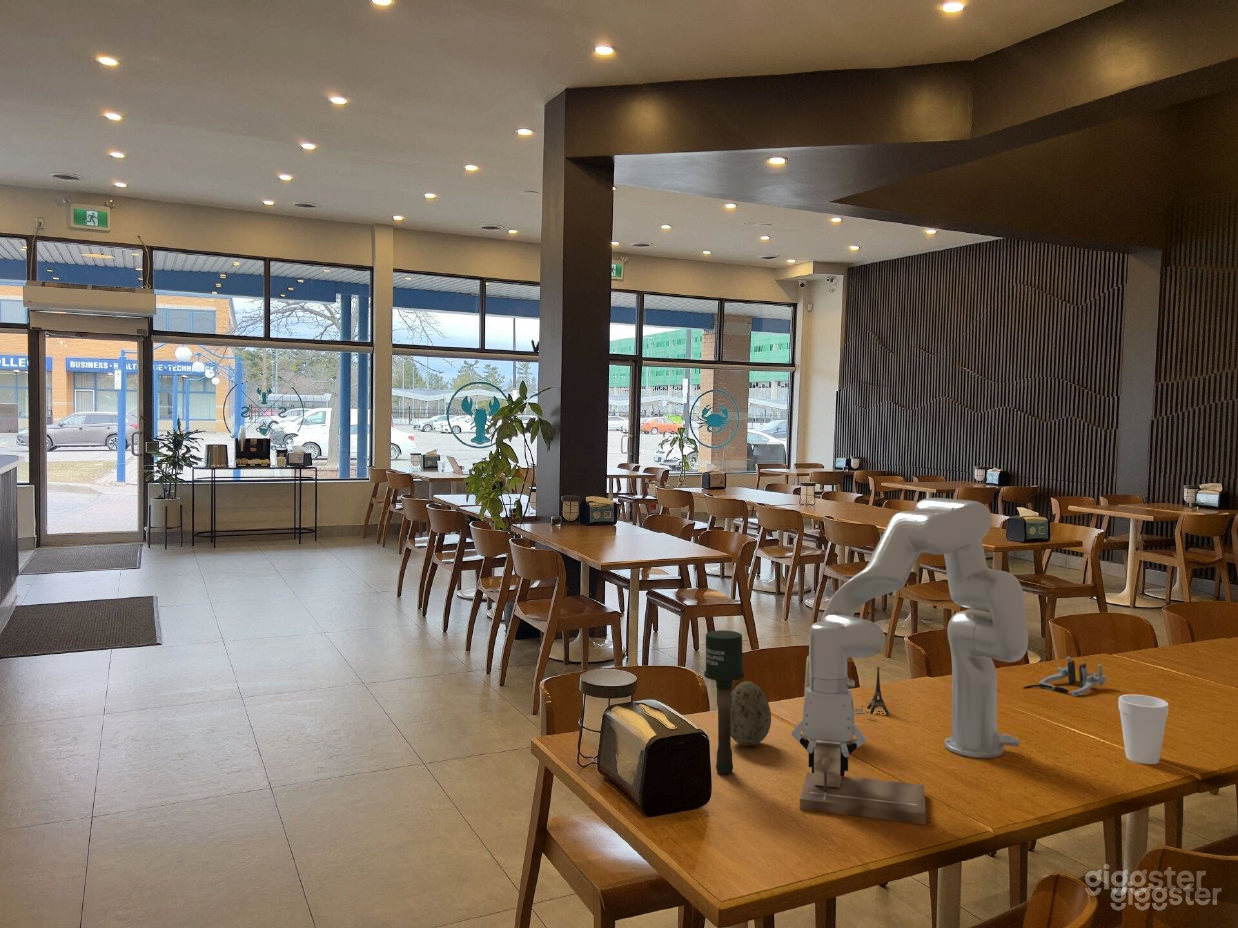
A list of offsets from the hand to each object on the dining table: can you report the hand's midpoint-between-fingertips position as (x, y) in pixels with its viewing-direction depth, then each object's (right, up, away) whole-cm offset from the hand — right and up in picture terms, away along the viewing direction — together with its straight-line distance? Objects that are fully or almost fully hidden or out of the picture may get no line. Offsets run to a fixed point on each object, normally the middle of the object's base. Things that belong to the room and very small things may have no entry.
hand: (828, 771), depth 178 cm
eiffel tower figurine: (+25, -3, +51) cm, 56 cm away
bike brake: (+83, -1, +68) cm, 108 cm away
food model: (+6, -3, +33) cm, 34 cm away
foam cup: (+73, -3, +16) cm, 75 cm away
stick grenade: (-20, -4, +10) cm, 23 cm away
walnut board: (+6, -4, -5) cm, 9 cm away
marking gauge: (-1, -3, -2) cm, 4 cm away
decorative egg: (-13, -3, +27) cm, 30 cm away
